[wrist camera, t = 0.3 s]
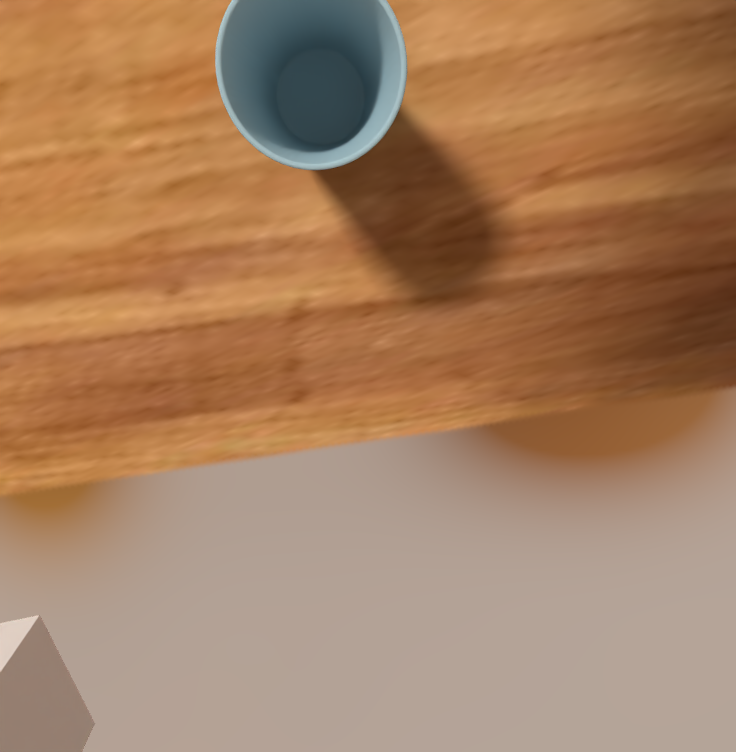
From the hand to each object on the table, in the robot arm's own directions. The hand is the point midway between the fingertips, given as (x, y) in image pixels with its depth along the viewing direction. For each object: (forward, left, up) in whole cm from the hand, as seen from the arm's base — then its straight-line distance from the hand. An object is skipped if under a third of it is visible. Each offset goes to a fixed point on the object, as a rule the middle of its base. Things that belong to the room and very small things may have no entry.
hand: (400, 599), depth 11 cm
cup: (-12, 0, -28) cm, 30 cm away
